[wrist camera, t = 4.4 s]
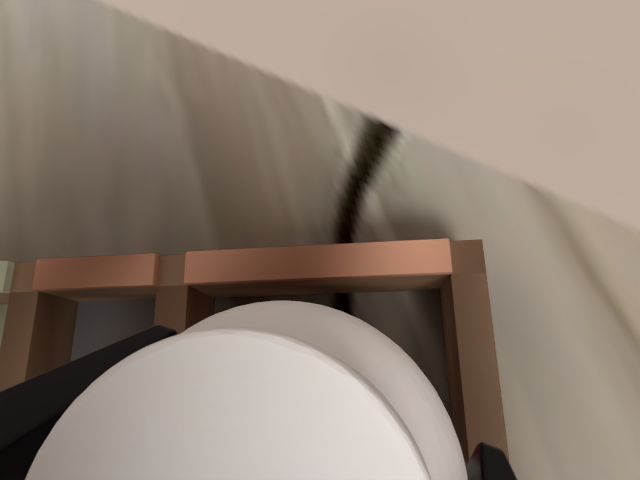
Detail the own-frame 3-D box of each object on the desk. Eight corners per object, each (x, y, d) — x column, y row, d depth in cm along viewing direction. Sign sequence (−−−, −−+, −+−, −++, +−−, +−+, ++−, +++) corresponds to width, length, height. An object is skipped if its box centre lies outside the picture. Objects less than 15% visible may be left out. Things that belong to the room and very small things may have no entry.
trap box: (466, 259, 16) (483, 236, 13) (508, 640, 13) (542, 708, 10) (-145, 287, 19) (-232, 272, 16) (-232, 610, 16) (-358, 659, 13)
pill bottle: (233, 340, 16) (-26, 273, 6) (411, 327, 16) (478, 227, 5) (235, 542, 15) (-136, 975, 4) (436, 536, 14) (614, 1023, 3)
